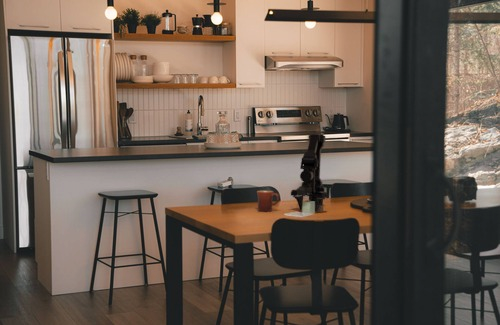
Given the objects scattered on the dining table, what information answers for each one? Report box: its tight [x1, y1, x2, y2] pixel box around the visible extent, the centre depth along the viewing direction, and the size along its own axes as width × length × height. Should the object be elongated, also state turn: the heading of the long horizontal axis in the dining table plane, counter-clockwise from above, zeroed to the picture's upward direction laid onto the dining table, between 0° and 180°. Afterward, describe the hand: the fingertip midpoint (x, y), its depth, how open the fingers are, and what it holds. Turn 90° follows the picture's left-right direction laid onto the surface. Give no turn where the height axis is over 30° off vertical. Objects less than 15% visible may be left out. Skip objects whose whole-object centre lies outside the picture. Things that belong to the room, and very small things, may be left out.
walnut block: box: [315, 205, 324, 213], centre depth 366 cm, size 5×5×3 cm
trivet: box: [284, 211, 313, 218], centre depth 351 cm, size 10×10×1 cm
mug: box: [256, 190, 280, 213], centre depth 363 cm, size 12×9×10 cm
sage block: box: [301, 200, 316, 215], centre depth 359 cm, size 4×4×6 cm
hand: (308, 210), depth 359 cm, fingers open, 9 cm apart
